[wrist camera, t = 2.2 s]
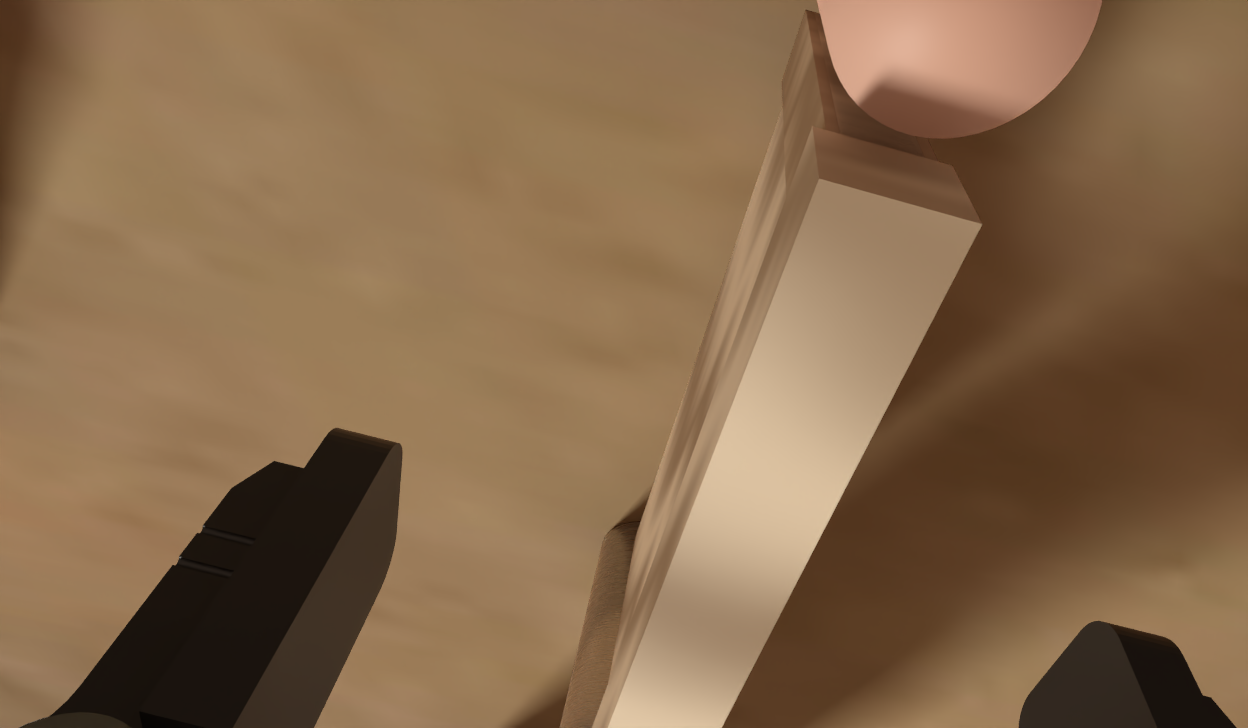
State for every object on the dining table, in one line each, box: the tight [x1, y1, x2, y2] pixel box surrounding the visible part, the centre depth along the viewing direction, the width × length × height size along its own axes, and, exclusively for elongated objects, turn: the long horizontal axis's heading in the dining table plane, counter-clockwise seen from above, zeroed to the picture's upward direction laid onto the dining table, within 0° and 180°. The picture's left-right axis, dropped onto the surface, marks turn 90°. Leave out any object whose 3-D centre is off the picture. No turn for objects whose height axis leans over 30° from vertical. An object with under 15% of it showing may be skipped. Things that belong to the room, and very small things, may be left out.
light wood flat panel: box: [592, 10, 982, 728], centre depth 19 cm, size 17×2×10 cm, turn 167°
